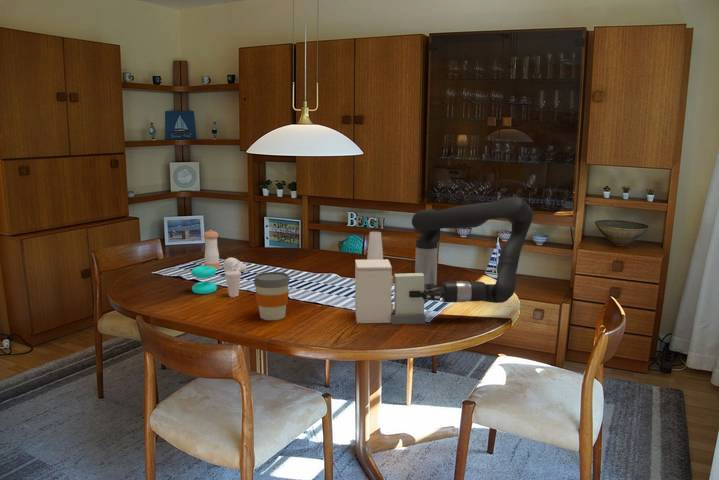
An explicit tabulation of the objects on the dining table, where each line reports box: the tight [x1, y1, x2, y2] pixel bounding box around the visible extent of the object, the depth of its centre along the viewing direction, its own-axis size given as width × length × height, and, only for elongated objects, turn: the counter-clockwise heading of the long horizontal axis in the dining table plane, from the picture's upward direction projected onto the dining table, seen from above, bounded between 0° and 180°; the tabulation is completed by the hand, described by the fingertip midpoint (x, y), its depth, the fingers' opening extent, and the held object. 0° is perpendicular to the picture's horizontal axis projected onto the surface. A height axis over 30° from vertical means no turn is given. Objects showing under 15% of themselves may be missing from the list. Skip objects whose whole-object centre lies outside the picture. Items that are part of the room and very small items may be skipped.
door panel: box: [393, 272, 425, 315], centre depth 210 cm, size 4×10×16 cm, turn 93°
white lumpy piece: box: [222, 257, 247, 273], centre depth 274 cm, size 6×8×12 cm
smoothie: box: [224, 262, 242, 298], centre depth 240 cm, size 6×6×14 cm
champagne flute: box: [366, 231, 384, 260], centre depth 251 cm, size 7×7×24 cm
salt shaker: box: [202, 229, 221, 270], centre depth 283 cm, size 7×7×19 cm
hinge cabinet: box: [354, 258, 427, 325], centre depth 212 cm, size 14×24×20 cm, turn 93°
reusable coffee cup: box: [253, 271, 290, 321], centre depth 214 cm, size 13×13×15 cm
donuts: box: [190, 265, 218, 295], centre depth 246 cm, size 10×10×10 cm
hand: (408, 292), depth 210 cm, fingers open, 4 cm apart
